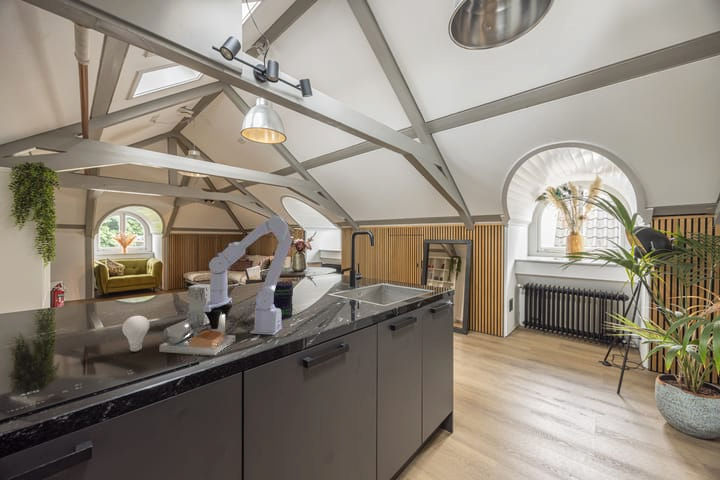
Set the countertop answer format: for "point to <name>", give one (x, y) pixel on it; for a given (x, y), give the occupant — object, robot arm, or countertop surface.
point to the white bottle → (221, 323)
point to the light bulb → (135, 331)
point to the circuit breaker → (198, 302)
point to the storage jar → (284, 299)
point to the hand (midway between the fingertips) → (218, 326)
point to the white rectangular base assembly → (194, 339)
